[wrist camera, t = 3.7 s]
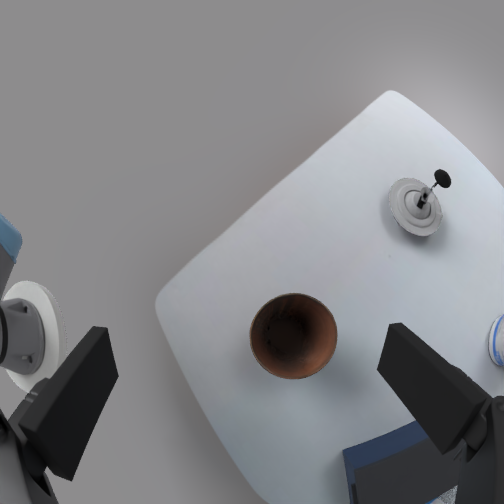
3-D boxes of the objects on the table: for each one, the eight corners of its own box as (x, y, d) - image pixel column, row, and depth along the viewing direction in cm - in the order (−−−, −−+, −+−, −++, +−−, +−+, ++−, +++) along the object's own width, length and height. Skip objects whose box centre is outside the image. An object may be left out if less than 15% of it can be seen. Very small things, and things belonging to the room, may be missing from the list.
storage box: (346, 506, 26) (358, 532, 19) (337, 449, 30) (351, 473, 22) (440, 464, 26) (464, 480, 19) (438, 406, 30) (467, 416, 22)
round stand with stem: (467, 225, 25) (478, 172, 27) (405, 177, 28) (424, 131, 30) (423, 254, 37) (439, 208, 39) (373, 218, 39) (395, 175, 41)
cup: (323, 364, 34) (342, 374, 24) (256, 370, 34) (252, 383, 25) (319, 300, 36) (336, 288, 27) (252, 305, 37) (247, 295, 27)
